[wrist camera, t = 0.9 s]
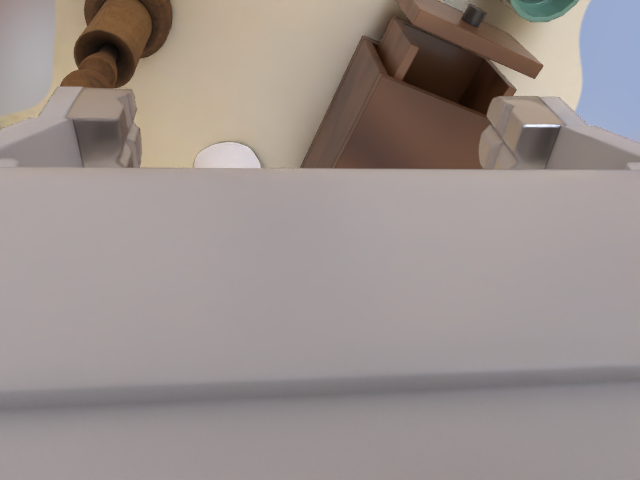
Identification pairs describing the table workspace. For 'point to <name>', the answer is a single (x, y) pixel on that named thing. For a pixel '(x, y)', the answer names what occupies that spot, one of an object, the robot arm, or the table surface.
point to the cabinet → (392, 124)
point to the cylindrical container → (540, 8)
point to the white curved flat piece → (227, 156)
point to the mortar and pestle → (117, 40)
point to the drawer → (452, 53)
